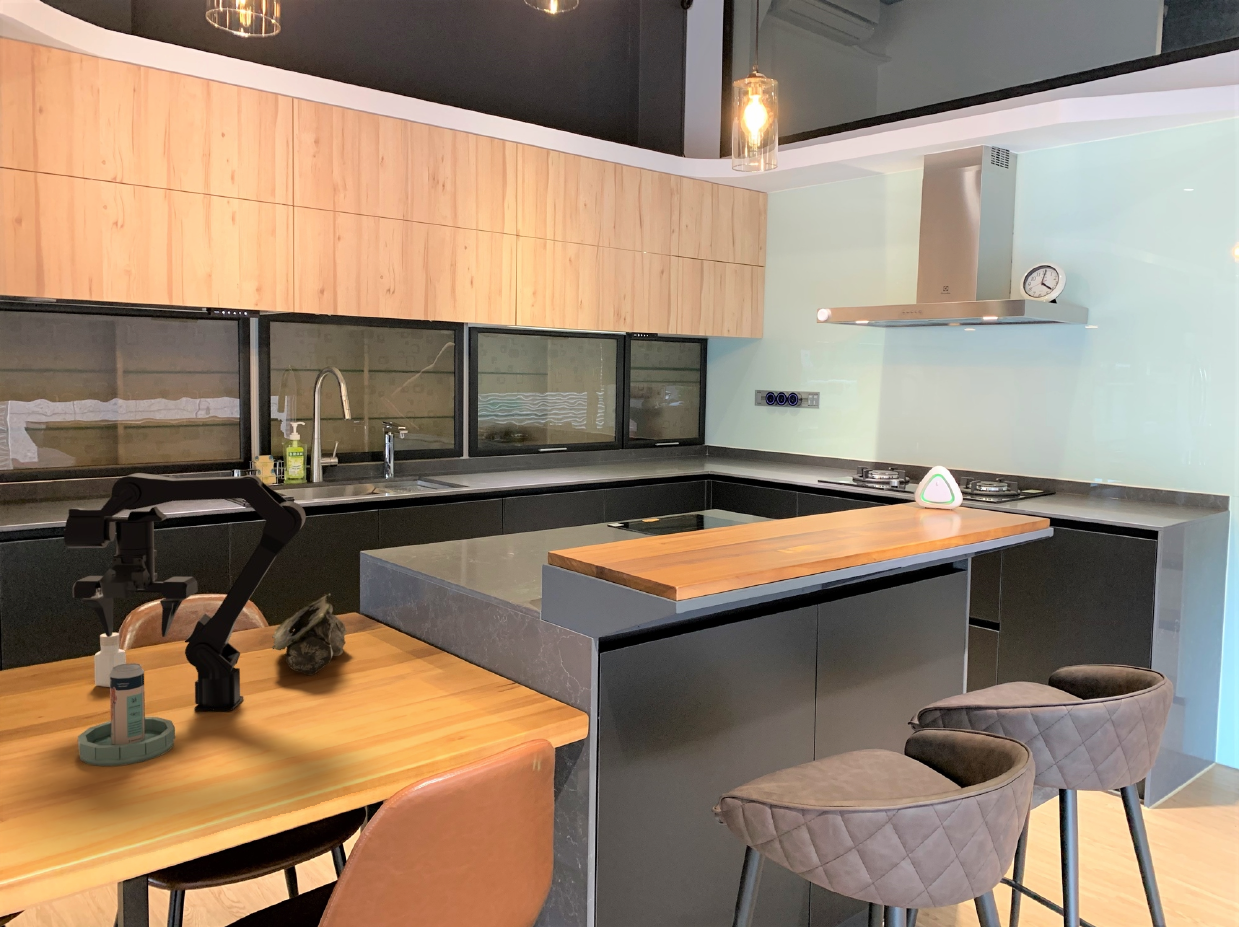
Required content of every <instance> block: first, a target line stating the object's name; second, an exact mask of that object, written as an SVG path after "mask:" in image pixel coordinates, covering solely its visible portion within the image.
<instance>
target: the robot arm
mask: <svg viewBox="0 0 1239 927" xmlns="http://www.w3.org/2000/svg"><path fill="white" fill-rule="evenodd" d="M230 499H231V500H233V499H234V500H235V499H243V500H244V501H246V502H247V504H248V505H250V506H251V508H252V509H253V510H254V511H255V512H256V514H258V515H259V517H261V518H262V519H263V520H264V521H266V522H265V525H264V527H263V529H262V532H261V535H260V538H259V541H258V543H257V546H256V548H255V549H254V551H253V553H252V554H251V556H250V557H249V559H248V561H247V562H246V564H245V566H243V569H242V570H241V572H240V573H239V575H238V576H237V578H236V579H235V582H234V583H233V585H232V586H231V588H230V590H228V593H227V594H226V596H225V598H224V599H223V600H222V602H221V604H220V606H219V607H218V608H217V610H216V611H215V612H214V614H213V615H212V616H209V614H207V613H204V614H202V616H201V617H200V618H199V619H198V621H197V622H196V624H195V626H194V628H193V631H191V633H190V634H189V636H188V637H187V638H186V639H185V640H184V642H185V643H187V645H186V647H185V650H184V655H185V659H186V660H187V661H188V663H189V664H190V665H192V666H193V667H194V668H195V670H196V672H197V680H195V681H194V703H195V706H194V710H193V711H196V712H198V711H199V712H200V711H201V712H204V711H205V712H206V711H207V712H208V711H209V712H210V711H212V712H213V711H221V712H222V711H225V712H227V711H233V710H234V709H235V708H236V707H237V706H238V705H239V704H240V703H241V702H242V701H243V700H244V695H241V670H240V669H241V668H240V667H236V665H237V664H238V661H239V659H240V656H241V652H240V651H239V650H238V649H236V648H235V647H234V646H233V645H232V644H231V643H229V641H230V639H231V637H232V634H233V631H234V629H235V625H236V622H237V620H238V618H239V616H240V614H241V613H242V611H243V609H244V608H245V607H246V605H247V603H249V601H250V599H251V597H252V596H253V593H254V592H255V591H256V589H257V587H258V586H259V584H260V583H261V581H262V580H263V578H264V577H265V575H266V573H267V572H268V570H269V569H270V567H271V565H272V563H273V562H274V561H275V559H276V557H277V556H278V555H279V554H280V552H282V551H283V549H284V548H285V547H286V546H287V545H288V544H289V543H290V542H291V541H292V539H293V538H294V537H295V536H296V535H297V534H298V533H299V531H300V530H301V529H302V527H303V526H304V524H305V522H306V517H307V516H306V512H305V509H304V508H303V507H302V506H301V504H299V503H297V502H295V501H291V500H290V501H289V500H287V499H286V498H285V497H283V496H282V495H281V494H280V493H279V492H277V491H276V490H274V489H273V488H271V487H270V486H269V485H267V484H266V483H265V482H264V481H262V479H261V478H260V477H259V476H257V475H255V474H247V475H243V476H217V477H216V476H214V477H213V476H212V477H209V476H208V477H187V478H186V477H185V478H175V477H168V476H162V475H159V474H150V473H143V472H136V473H132V474H127V475H125V476H122V477H121V478H118V479H117V480H116V482H114V484H113V486H112V487H111V497H110V498H109V499H108V500H107V502H105V504H104V505H103V506H102V507H101V508H84V507H72V508H69V509H68V516H67V518H66V522H65V527H64V529H63V541H64V543H65V546H66V547H67V548H68V549H85V548H87V549H88V548H91V549H94V548H98V549H99V548H102V549H103V548H107V546H108V545H109V543H110V542H114V540H115V538H116V554H114V555H113V556H112V563H111V564H112V565H111V568H108V570H107V571H106V572H105V573H104V574H103V575H88V576H85V577H83V578H81V579H78V580H76V581H75V582H74V583H73V586H72V588H71V592H72V598H73V599H80V602H81V603H82V604H83V603H84V604H88V606H90V607H91V608H92V609H93V610H94V612H95V615H96V616H97V617H98V620H99V621H100V625H101V627H102V629H103V632H104V634H105V633H106V636H107V637H110V636H112V633H113V630H114V599H122V600H128V599H131V598H132V597H134V596H135V594H136V593H142V594H143V593H146V594H147V593H150V594H151V593H154V594H156V593H158V594H159V593H160V594H161V595H162V596H163V598H162V599H161V600H159V602H160V605H161V607H162V611H161V612H162V613H161V626H160V627H161V630H160V631H161V636H162V638H165V637H167V636H168V633H169V631H170V629H171V626H172V624H173V621H174V620H175V619H174V618H175V616H176V614H177V611H178V610H179V608H180V606H181V604H182V602H183V601H185V600H186V599H188V598H190V597H191V596H193V595H194V594H196V593H198V581H197V580H196V578H195V577H194V576H172V577H169V578H168V579H166V580H164V581H156V580H158V572H155V557H157V556H158V550H157V549H155V535H154V534H155V530H154V528H155V527H154V526H155V525H154V522H156V523H160V522H162V521H164V520H166V519H167V517H168V516H167V515H166V513H163V512H162V511H160V509H159V508H158V507H157V505H161V504H164V503H165V504H166V503H170V502H178V501H179V502H181V501H183V502H185V501H203V500H206V501H208V500H211V501H212V500H230ZM148 507H151V508H150V509H149V510H138V509H143V508H148ZM126 510H127V511H128V510H129V511H130V512H129V514H128V515H125V516H115V515H118V514H120V513H122V512H124V511H126ZM133 510H134V511H133Z"/></svg>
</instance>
